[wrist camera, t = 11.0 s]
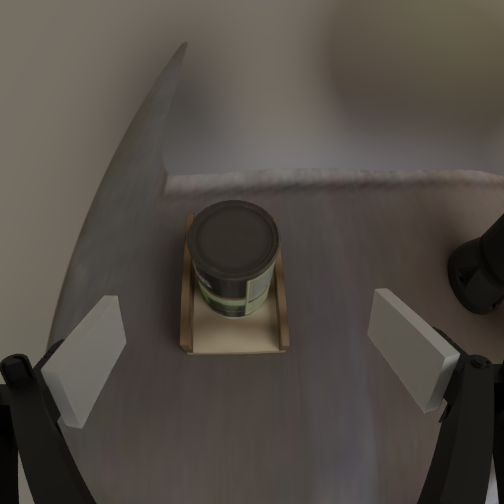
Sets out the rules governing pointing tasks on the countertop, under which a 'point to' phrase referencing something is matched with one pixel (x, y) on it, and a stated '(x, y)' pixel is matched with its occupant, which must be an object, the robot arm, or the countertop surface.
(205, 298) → the coffee can
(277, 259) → the curved wooden tray
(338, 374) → the countertop surface
